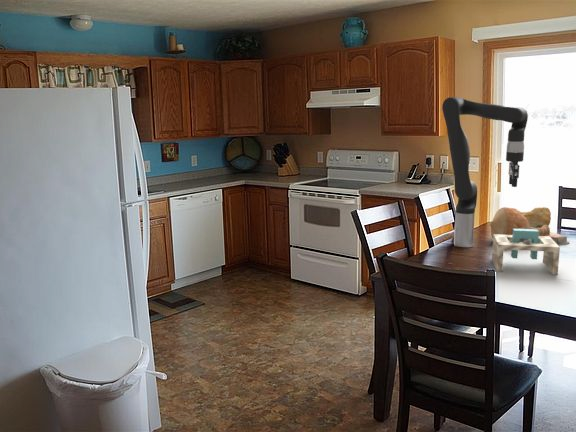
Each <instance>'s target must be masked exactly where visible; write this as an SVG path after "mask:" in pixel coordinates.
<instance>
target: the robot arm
mask: <svg viewBox="0 0 576 432" xmlns="http://www.w3.org/2000/svg"><path fill="white" fill-rule="evenodd" d="M441 106H442V107H441V108H442V114H443V117H444V121H445V122H444V123H445V125H446V132H447V138H448V144H449V145H448V146H449V152H450V158H451V159H450V160H451V163H452V164H451V165H452V171H453V178H454V179H453V180H454V183H453V184H454V193H455V196H456V198H458V200H457V204H456V207H455V220H454V233H453V234H454V236H453V244H454V245H453V246H454V247H459V248H471V247H473V246H474V234H475V232H474V231H475V217H476V216H475V213H476V207H477V201H478V186H477V185H476V182H474V181H472V180H471V178H470V173H469V171H470V170H469V169H470V168H469V167H470V159H471V151H470V145H469V139H468V138H467V137H468V136H467V135H466V133H465V131H464V128H463V127H462V123H461V117H460V116H463V115H465V116H466V115H467V116H468V115H470V116H476V117H480V118H483V119H488V120H494V121H503V122H506V123H511V127H510V129H509V130H508V133H507V144H506V155H505V161H506V162H509V163H508V176H509V178H508V184H509V185H511V187H512V188H517V186H518V179H519V177H520V176H519V175H520V164H519V163H521V162H524V154H525V153H524V152H525V131H526V128H527V125H528V120H529V118H528V116H529V115H528V111H527V109H526V108H524V107H513V106H504V105H500V104H493V103H482V102H476V101H471V100H468V99H465V98H462V97H460V96H455V97H454V96H449V97H447V98H445V99H444V101H443V102H442V105H441Z"/></svg>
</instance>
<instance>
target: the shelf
mask: <svg viewBox="0 0 576 432" xmlns="http://www.w3.org/2000/svg"><path fill="white" fill-rule="evenodd" d="M512 236H513V235H499V234H493V239H492V251H491V252H492V253H491V261H492V263H493V265H494V267H495V269H496V272H498V273H502V272H503V265H504V263H503V262H504V251H505V250H506V251H507V250H510V251H511V250H518V251H530V252H531V251H538V252H543V254H542V255H543V256H542V263H543V264H544V266H545V267H546V268H547V269H548V271H549V273H550V274H551V275H553V276H557V275H558V273H559V262H560V252H561V251H560V249H561V247H560V245H557V244H556V243H555V242H554V241H553V239H552V238H551V237H550V236H539V239H538V244H536V243H531V241H532V239H519V242H518V243H512Z"/></svg>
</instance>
